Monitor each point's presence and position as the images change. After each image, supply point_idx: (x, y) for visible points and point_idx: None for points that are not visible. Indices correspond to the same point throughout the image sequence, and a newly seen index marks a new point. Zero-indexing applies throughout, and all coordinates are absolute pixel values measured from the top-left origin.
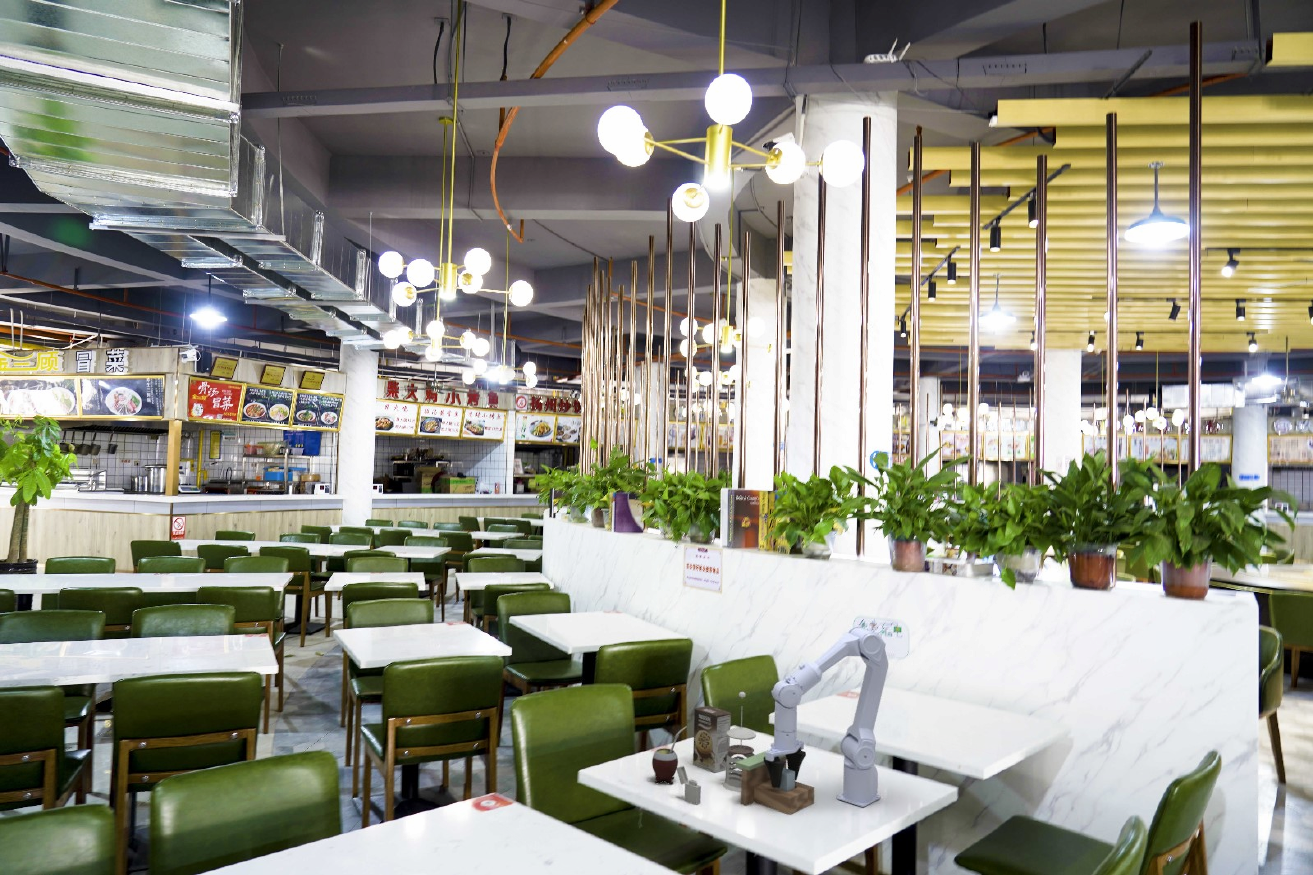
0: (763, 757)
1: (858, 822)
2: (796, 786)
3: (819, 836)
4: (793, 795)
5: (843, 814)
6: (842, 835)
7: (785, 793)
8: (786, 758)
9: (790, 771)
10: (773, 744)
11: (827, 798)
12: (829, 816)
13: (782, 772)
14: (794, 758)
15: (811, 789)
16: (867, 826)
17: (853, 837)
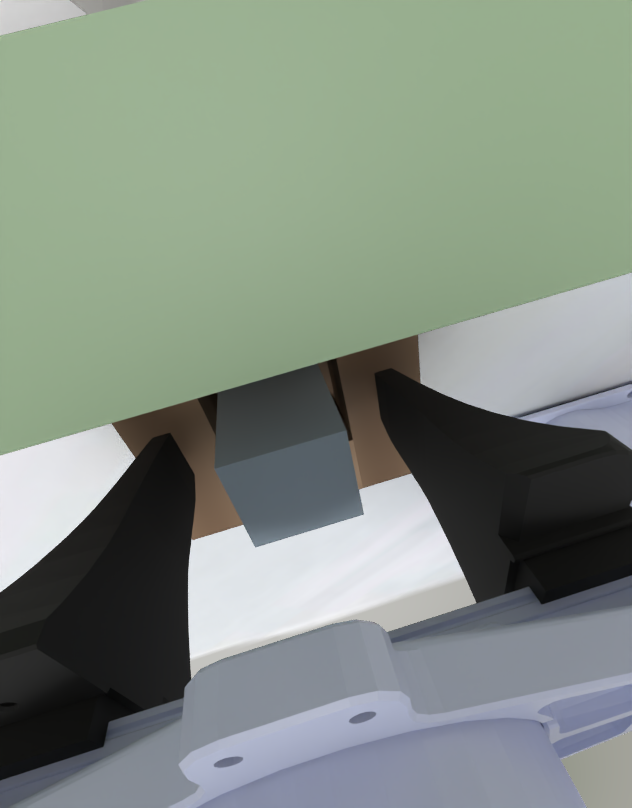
0: (161, 302)
1: (379, 568)
2: (351, 432)
3: (190, 610)
4: (237, 518)
5: (394, 521)
6: (264, 613)
7: (211, 488)
8: (451, 442)
9: (329, 509)
10: (231, 779)
11: (486, 398)
12: (338, 522)
13: (249, 510)
14: (465, 533)
15: (395, 475)
16: (377, 587)
17: (283, 623)
